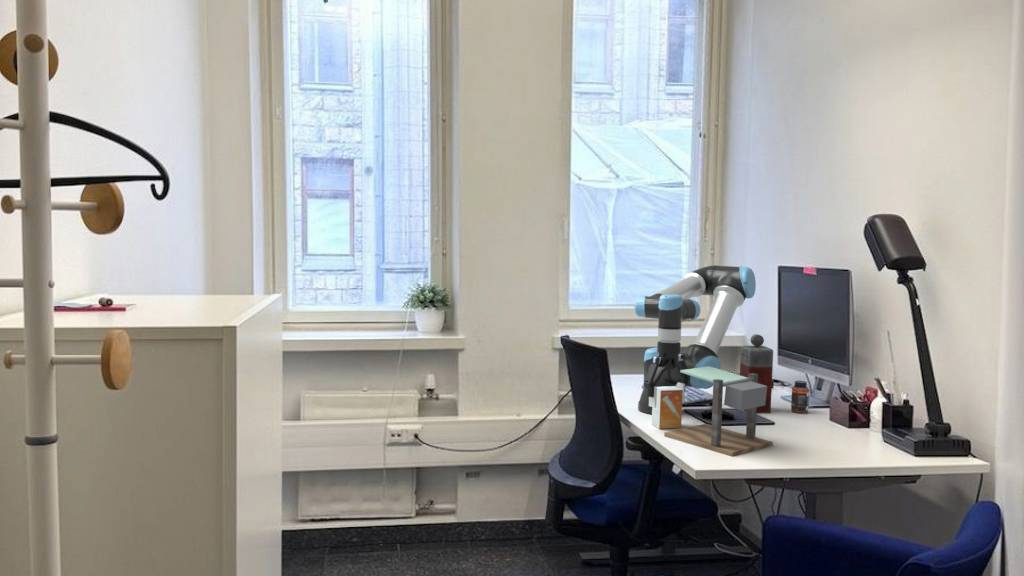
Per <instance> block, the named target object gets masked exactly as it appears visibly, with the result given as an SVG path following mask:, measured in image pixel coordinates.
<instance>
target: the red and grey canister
mask: <svg viewBox="0 0 1024 576" xmlns="http://www.w3.org/2000/svg"><path fill="white" fill-rule="evenodd" d="M764 341H765V340H764V337H763V336H762V335H761V334H759V333H757V334H753V335H752V336H751V337H750V343H751V345H741V346H740V358H739V359H740V360H739V363H740V364H739V375H740V376H744V377H747V378H748V375H749V374H751V373H754V374H758V384H762V385H765V386H767V394H766V402H765V405H764V406H760V407H757V410H756V414H771V411H772V391H773V390H772V388H773V387H772V386H773V369H774V367H773V363H774V350H773V349H772V348H770V347H768V346H765V345H763V344H764ZM745 411H746V412H747V409H745V410H744V411H743V412H745ZM746 412H745V413H746Z"/></svg>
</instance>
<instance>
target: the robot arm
mask: <svg viewBox="0 0 1024 576" xmlns="http://www.w3.org/2000/svg"><path fill="white" fill-rule="evenodd" d="M756 287H757V285H756V276H755V273H754V271H753V269H752V268H750V267H748V266H747V267H746V266H742V265H740V266H733V265H732V266H731V265H706V266H703V267H700V268H698V269H694V270H692V271H690V272H688V273H686V274H685V276H683V279H681V280H679V281H678V282H675V283H673V284H671V285H669V286H667V287H666V288H664V289H662V290H660V291H658V292H656V293H654V294H653V295H651V296H648V295H640V296H638V297H637V298H636V299H635V301H634V313H635V314H636V316H637V317H640V318H645V319H655V320H656V319H657V320H658V322H657V324H658V325H657V327H658V328H657V329H658V330H657V340H658V341H657V344H656V345H657V346H656V347H651V348H647V349H646V350H645V352H644V358H643V387H642V388H643V389H642V392H641V395H640V398H639V401H638V403H637V409H638V411H640V412H641V413H645V414H649V415H652V407H654V408H656V405H657V388H656V387H663V386H676V387H678V388H680V389H682V390H683V396H682V404H684V403H685V393H686V387H688V388H694V389H695V390H696V389H699V390H700V389H702V390H703V389H704V390H707V389H711V388H713V382H709V381H706V380H703V379H700V378H697V377H694V376H691V375H687V374H684V373H681V372H680V370H686V369H693V368H699V367H706V366H710V367H713V368H717V369H720V370H722V369H721V368H722V367H721V362H720V358H719V355H718V352H719V349H720V346H721V344H722V342H723V340H724V339H725V338H724V337H725V335H726V333H727V331H728V328H729V326H730V324H731V322H732V319H733V317H734V314H735V312H736V310H737V308H738V307H739V308H740V307H741V306H742V305H743V304H744V303H745V301H746V299H747V300H748V299H753V297H754V296H755V294H756ZM700 296H713V297H714V299H713V301H712V303H711V306H710V308H709V309H708V311H707V312H708V313H707V314H706V317H705V318H704V321H703V323H702V325H701V327H700V330H699V331H698V334H697V336H696V338H695V340H694V343H691V344H688V345H687V347H686V350H685V351H684V352H682V351H681V342H680V341H681V340H682V323H683V322H692V321H694V320H696V319H698V318H699V317H700V314H701V306H700V304H699V302H698V301H696V300H695V299H692V298H698V297H700Z"/></svg>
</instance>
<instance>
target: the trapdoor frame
mask: <svg viewBox="0 0 1024 576" xmlns="http://www.w3.org/2000/svg"><path fill="white" fill-rule="evenodd" d="M748 378H751V379H752V382H755V383H758V374H754V373H751V374H749V375H748ZM723 389H724V387H723V380H720V379H714V380H713V386H712V406H711V407H712V412H711V414H712V415H711V424H707V423H703V424H699V425H698V424H697V425H693V426H688V427H684V428H677V429H674V430H669V431H665V432H664V433H663V434H664V435H663V437H666V438H668V439H673V440H675V441H679V442H682V443H686V444H689V445H692V446H696V447H699V448H703V449H706V450H709V451H713V452H716V453H719V454H723V455H727V456H728V457H729V456H730V457H734V456H738V455H739V456H740V455H742V454H746V453H749V452H754V451H757V450H758V451H759V450H761V449H765V448H769V447H773V446H774V444H773V443H774V441H773V440H768V439H764V438H760V437H756V433H757V432H756V430H757V413H756V410H757V407H755V408H750V409H747V413H746V425H745V426H746V428H745V429H746V431H745V433H742V432H738V431H735V430H730V429H727V428H723V427H722V422H723V421H722V420H723V398H724V397H723V395H724V390H723Z"/></svg>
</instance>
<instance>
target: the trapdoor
mask: <svg viewBox="0 0 1024 576" xmlns="http://www.w3.org/2000/svg"><path fill="white" fill-rule="evenodd" d="M680 372H681V373H684V374H687V375H691V376H694V377H697V378H700V379H703V380H706V381H709V382H713V380H714V379H720V380H723V388H725V392H724V400H723V405H724V406H726V407H730V408H732V409H735V410H738V411H743V410H745V409H750V408H755V407H760V406H764V405H765V402H766V394H767V386H765V385H762V384H758V383H755V382H752V379H751V378H747V377H744V376H740V374H736V373H733V372H729V371H726V370H724V369H721V370H720V369H717V368H713V367H710V366H706V367H699V368H693V369H686V370H680Z"/></svg>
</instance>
